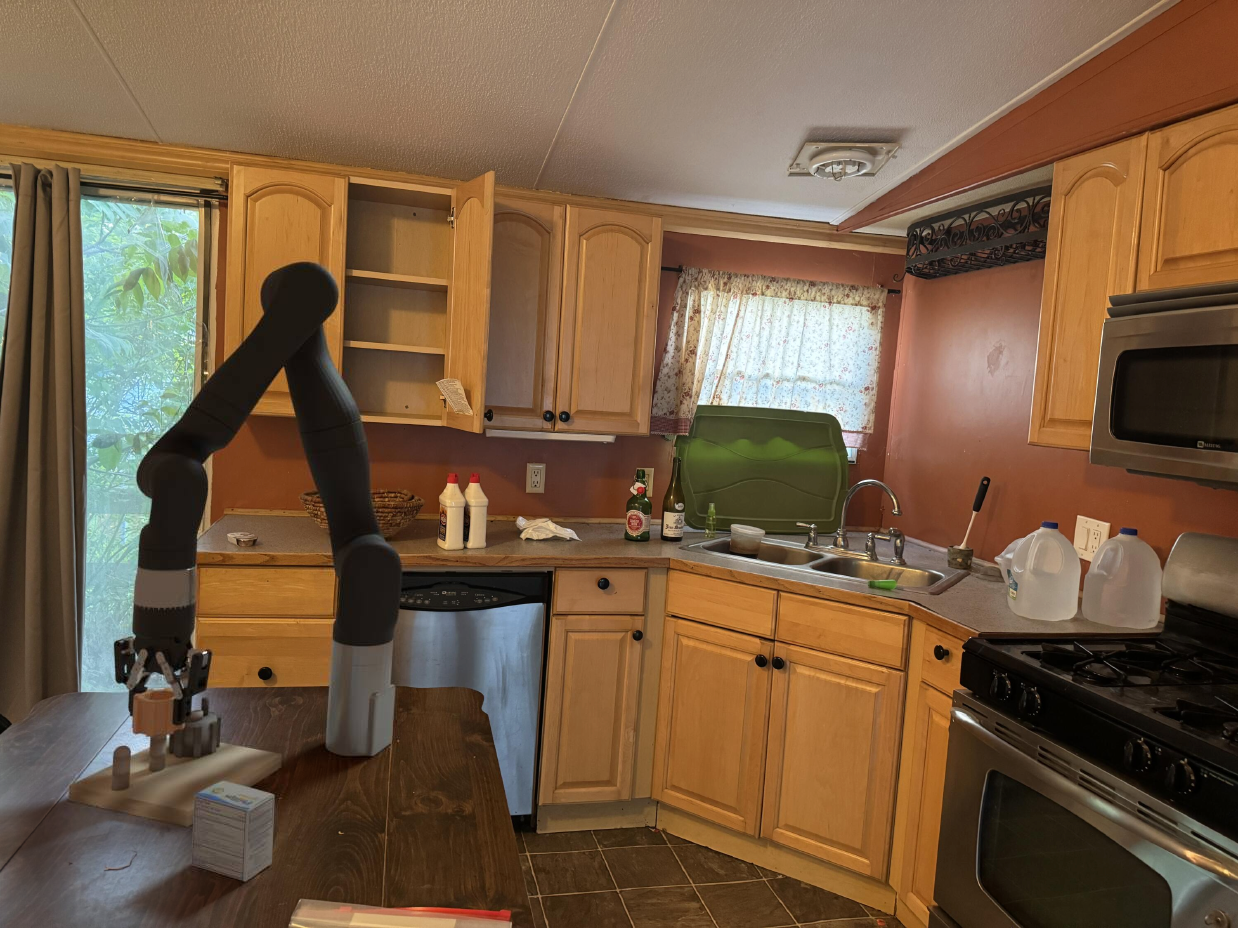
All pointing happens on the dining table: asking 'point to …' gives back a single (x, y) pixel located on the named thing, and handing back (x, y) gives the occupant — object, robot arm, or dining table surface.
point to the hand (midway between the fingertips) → (158, 718)
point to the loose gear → (154, 713)
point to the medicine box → (233, 830)
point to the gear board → (174, 771)
